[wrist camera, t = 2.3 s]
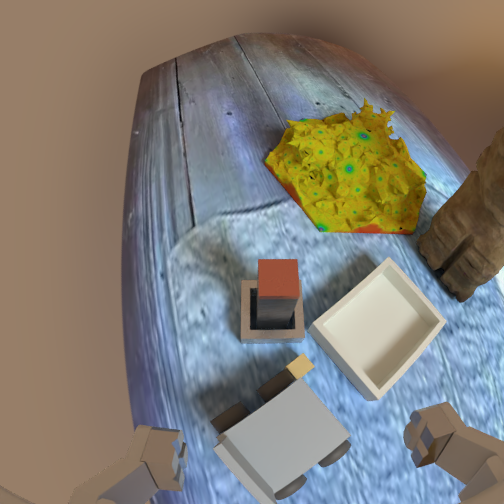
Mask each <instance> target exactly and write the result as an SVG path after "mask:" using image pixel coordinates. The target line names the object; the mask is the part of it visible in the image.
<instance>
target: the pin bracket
mask: <svg viewBox="0 0 504 504" xmlns="http://www.w3.org/2000/svg"><path fill="white" fill-rule="evenodd" d="M299 290H300V297H299V299H298V301H297V304H296V306H295V309H294V311H293V314H292V329H291V330H250V296H257V280H241V344H265V343H301V342H302V341H303V340H304V338H305V330H304V314H303V299H302V285H301V280H299Z"/></svg>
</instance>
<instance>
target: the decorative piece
mask: <svg viewBox="0 0 504 504" xmlns="http://www.w3.org/2000/svg"><path fill="white" fill-rule="evenodd" d="M359 109H361V110H362V111H361V112H360V113H359V114H356V112H354V113H352V120H351V121H350V120H349V119H348V118H347V117H346V116H345V114H344V113H339V114H335V115H331V116H329V117H326V118H324V119H322V120H319V119H301V120H300V121H299V122H297V121H291V120H287V122H288V124H289V125H290V127H291V128H286V130H285V132H284V135H283V137H282V139H281V142H280V143H279V144H278V146H277V147H276V148H275V149H274V150H273V151H272V152H270V154H269V156H268V157H267V158H266V160H265V166H266V167H267V168H268V169H269V171H270V172H271V173H272V174H273V175H274V176H275V178H276V179H277V180H278V181H279V182H280V183H281V185H282V186H283V187H284V188H285V189H286V191H287V192H288V193H289V194H290V195H291V197H292V198H293V199H294V200H295V202H296V203H297V204H298V205H299V206H300V207H301V208H302V210H303V211H304V212H305V214H306V215H307V216H308V217H309V219H310V220H311V221H312V222H313V224H314V225H315V226H316V227H317V229H318V230H319V231H320V232H341V233H383V234H413V233H414V231H415V229H416V225H417V222H418V218H419V212H420V208H421V205H422V203H423V200H424V198H425V195H426V193H427V192H426V188H425V186H424V184H425V183H426V182H425V180H426V175H427V174H426V173H425V172H424V171H423V170H422V169H421V168H420V167H419V166H418V165H417V164H416V163H415V162H414V161H413V160H412V159H411V158H410V155H409V152H408V149H407V146H406V144H405V142H404V140H403V139H402V138H401V137H400V138H399V139H398V140H394V139H390V138H389V137H388V136H389V135H391V133H394V131H392V129H393V128H392V126H390V127H389V128H388V127H387V123H388V121H391V119H390V116H391V115H392V114H393V113H394V112H395V111H388V112H387V113H386V112H385V111H384V109H382V108H380V110H381V114H377V113H373V105H369V104H368V103H367V100H366V99H365V98H364V106H363V107H361V108H359ZM398 137H399V136H398ZM309 175H310V176H311V177H313V178H314V179H315V180H313V179H311V178H310V176H309ZM400 228H403V229H401V230H399V229H400Z"/></svg>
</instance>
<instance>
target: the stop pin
mask: <svg viewBox="0 0 504 504" xmlns="http://www.w3.org/2000/svg"><path fill="white" fill-rule="evenodd" d="M299 297H300V290H299V276H298V263H297V259H258V277H257V296H256V329H286V328H287V325H288V323H289V321H290V318H291V316H292V314H293V311H294V309H295V306H296V304H297V301H298V299H299Z"/></svg>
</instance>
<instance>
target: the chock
mask: <svg viewBox="0 0 504 504" xmlns="http://www.w3.org/2000/svg"><path fill="white" fill-rule="evenodd" d="M314 367H315V366H314V365H313V364H312V363H311V362H310V360H309V359H308V358H307V357H306V356H305V354H304V353H302V354H301V355H300V356H299V357H297V358H296V359H295V360H294V361H292V362H291V363H290V364H288V365H287V366H286V367H285V368H284V369H287V370H288V371H289V373H290V374H291V375H292V376H293V377H294V379H295V381H296V380H297V379H299V378H300V377H302V376H304V375H305V374H306V373H307V372H309V371H310V370H311V369H312V368H314ZM295 381H294V382H295Z"/></svg>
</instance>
